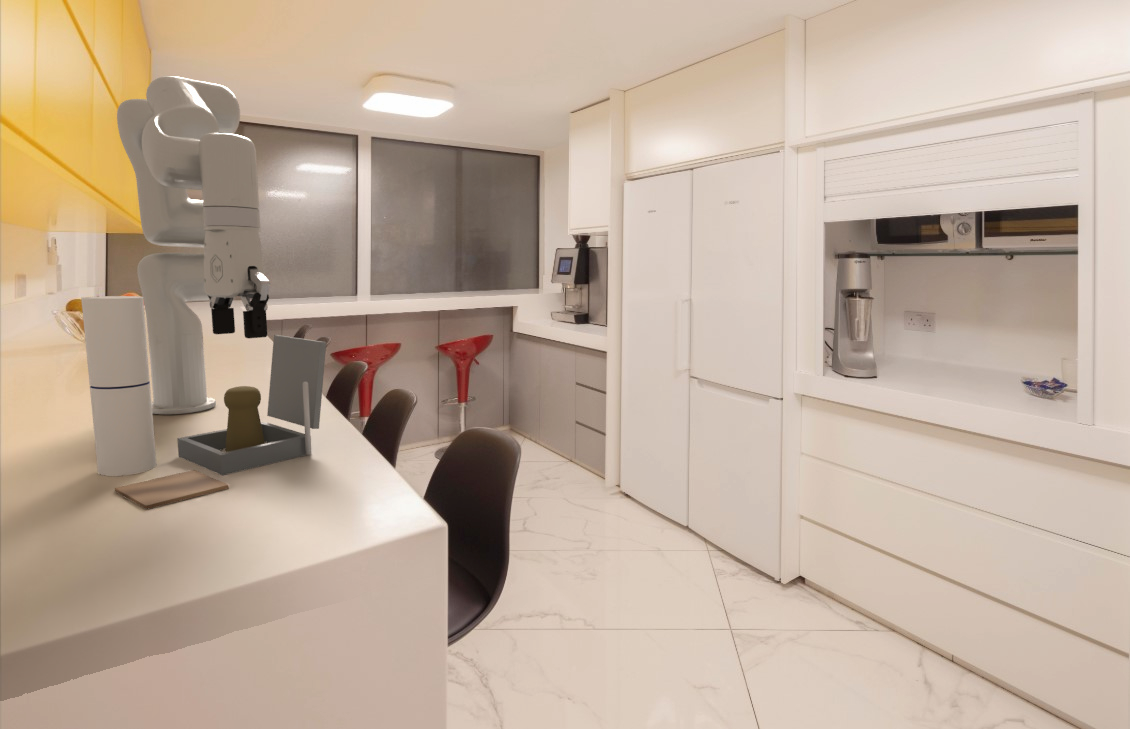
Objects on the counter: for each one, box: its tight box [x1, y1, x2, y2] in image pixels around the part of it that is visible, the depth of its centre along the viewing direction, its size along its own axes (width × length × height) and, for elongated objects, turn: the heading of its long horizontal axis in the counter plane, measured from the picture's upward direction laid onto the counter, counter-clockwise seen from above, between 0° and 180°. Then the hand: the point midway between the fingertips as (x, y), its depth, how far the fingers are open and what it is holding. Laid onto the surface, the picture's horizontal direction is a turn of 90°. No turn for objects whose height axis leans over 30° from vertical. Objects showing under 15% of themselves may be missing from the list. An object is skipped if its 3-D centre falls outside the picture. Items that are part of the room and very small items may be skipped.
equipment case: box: [177, 382, 312, 476], centre depth 101 cm, size 15×14×12 cm
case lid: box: [266, 334, 327, 430], centre depth 107 cm, size 14×14×1 cm
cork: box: [223, 385, 266, 452], centre depth 101 cm, size 6×6×11 cm
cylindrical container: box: [81, 295, 158, 477], centre depth 93 cm, size 7×7×25 cm
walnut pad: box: [114, 469, 230, 510], centre depth 86 cm, size 10×10×1 cm
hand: (239, 335), depth 99 cm, fingers open, 9 cm apart
